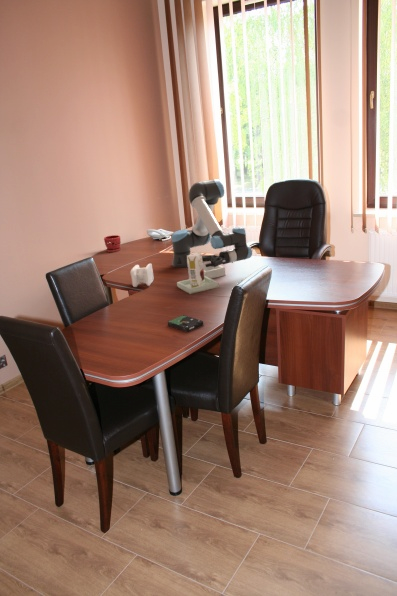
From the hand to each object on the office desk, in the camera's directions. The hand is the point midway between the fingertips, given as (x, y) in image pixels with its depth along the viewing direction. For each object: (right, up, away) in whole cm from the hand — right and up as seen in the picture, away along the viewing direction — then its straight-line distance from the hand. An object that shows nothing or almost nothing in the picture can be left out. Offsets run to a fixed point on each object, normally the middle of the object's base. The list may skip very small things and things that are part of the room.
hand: (194, 264), depth 281 cm
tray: (+2, -13, +5) cm, 14 cm away
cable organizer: (-32, -11, +22) cm, 40 cm away
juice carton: (+2, -12, +4) cm, 13 cm away
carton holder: (+10, -5, +25) cm, 27 cm away
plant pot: (-68, +19, +125) cm, 143 cm away
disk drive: (-4, -33, -50) cm, 60 cm away
